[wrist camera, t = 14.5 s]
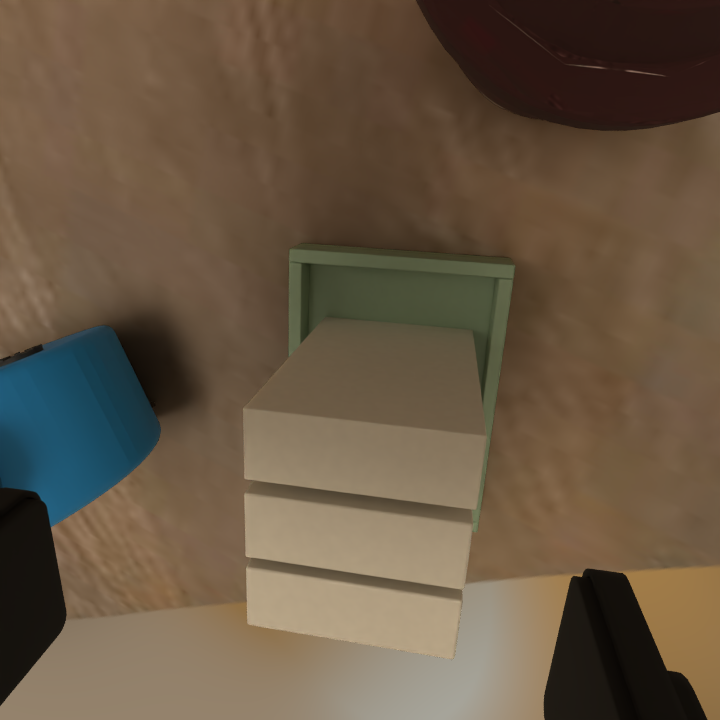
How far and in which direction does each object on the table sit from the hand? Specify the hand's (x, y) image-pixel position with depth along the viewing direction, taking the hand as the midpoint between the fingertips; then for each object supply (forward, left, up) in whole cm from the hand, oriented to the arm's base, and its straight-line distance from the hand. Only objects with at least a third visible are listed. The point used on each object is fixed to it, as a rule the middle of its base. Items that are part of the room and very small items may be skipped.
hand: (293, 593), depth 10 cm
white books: (+5, 0, -17) cm, 18 cm away
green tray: (+3, 0, -18) cm, 18 cm away
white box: (+1, 0, -17) cm, 17 cm away
